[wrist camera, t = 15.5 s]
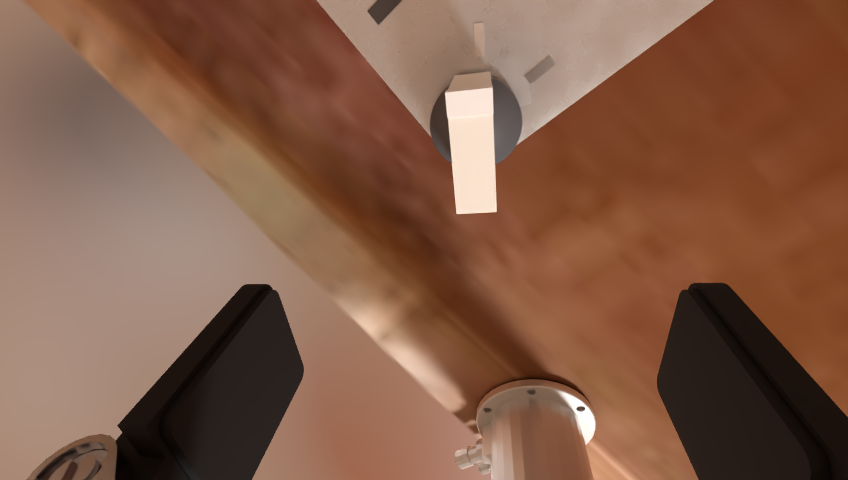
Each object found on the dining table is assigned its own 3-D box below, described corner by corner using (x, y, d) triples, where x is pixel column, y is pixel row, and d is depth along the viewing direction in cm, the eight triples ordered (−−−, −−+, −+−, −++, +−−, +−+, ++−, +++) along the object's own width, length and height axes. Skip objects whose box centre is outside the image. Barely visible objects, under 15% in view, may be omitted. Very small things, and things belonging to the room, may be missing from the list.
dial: (521, 165, 27) (532, 210, 21) (436, 171, 28) (422, 216, 22) (521, 64, 24) (534, 83, 18) (425, 75, 25) (406, 96, 19)
